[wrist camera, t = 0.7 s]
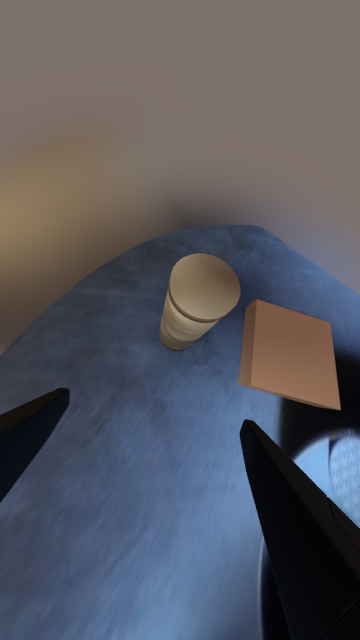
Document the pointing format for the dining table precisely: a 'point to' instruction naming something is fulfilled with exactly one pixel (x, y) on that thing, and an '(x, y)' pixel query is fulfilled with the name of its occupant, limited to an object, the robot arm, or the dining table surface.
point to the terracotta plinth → (288, 355)
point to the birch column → (197, 299)
